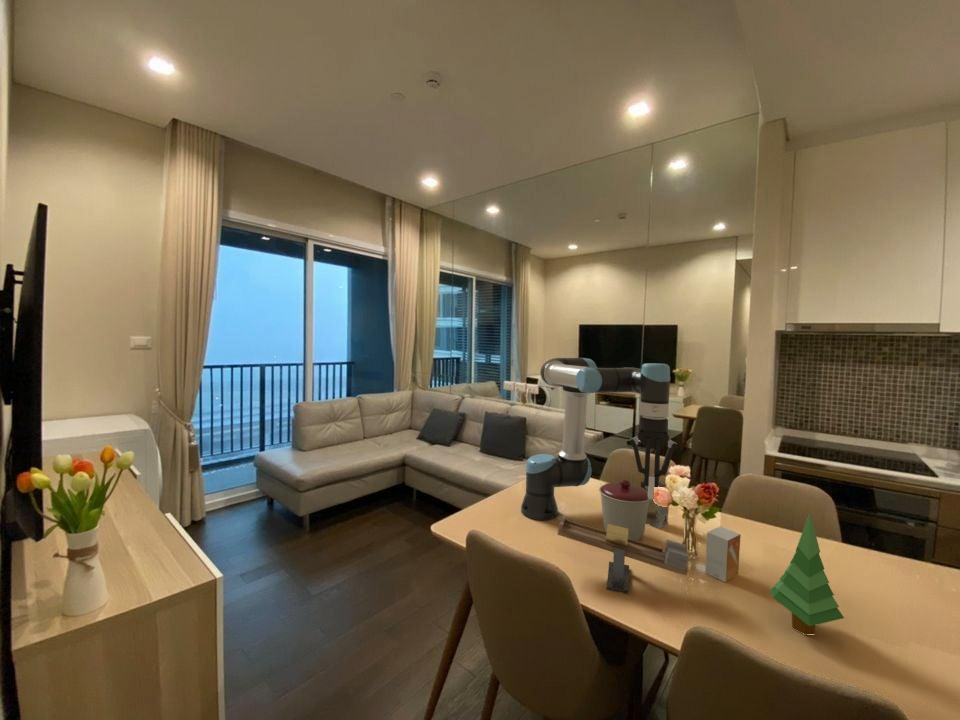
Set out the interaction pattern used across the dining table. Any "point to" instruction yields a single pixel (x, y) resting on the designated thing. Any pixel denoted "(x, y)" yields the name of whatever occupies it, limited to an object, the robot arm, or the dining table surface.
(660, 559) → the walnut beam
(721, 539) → the small box
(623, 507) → the canister
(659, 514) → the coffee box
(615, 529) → the block
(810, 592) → the decorative tree
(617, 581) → the beam stand
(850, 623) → the dining table surface
